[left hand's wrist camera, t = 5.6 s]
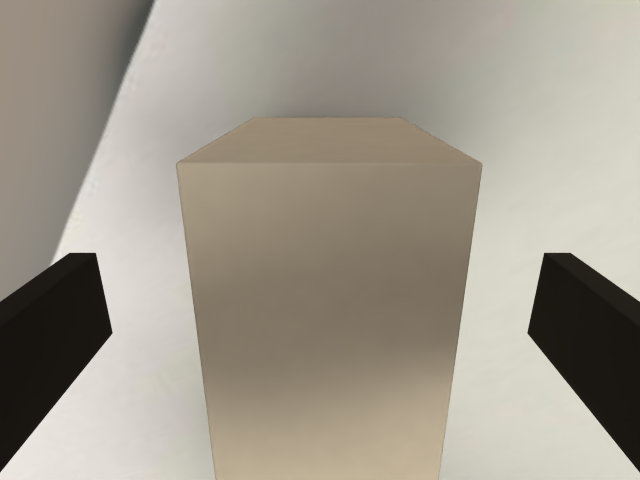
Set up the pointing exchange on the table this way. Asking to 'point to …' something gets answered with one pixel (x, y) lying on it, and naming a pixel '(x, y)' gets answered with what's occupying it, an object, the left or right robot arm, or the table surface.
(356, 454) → the box
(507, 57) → the table surface
